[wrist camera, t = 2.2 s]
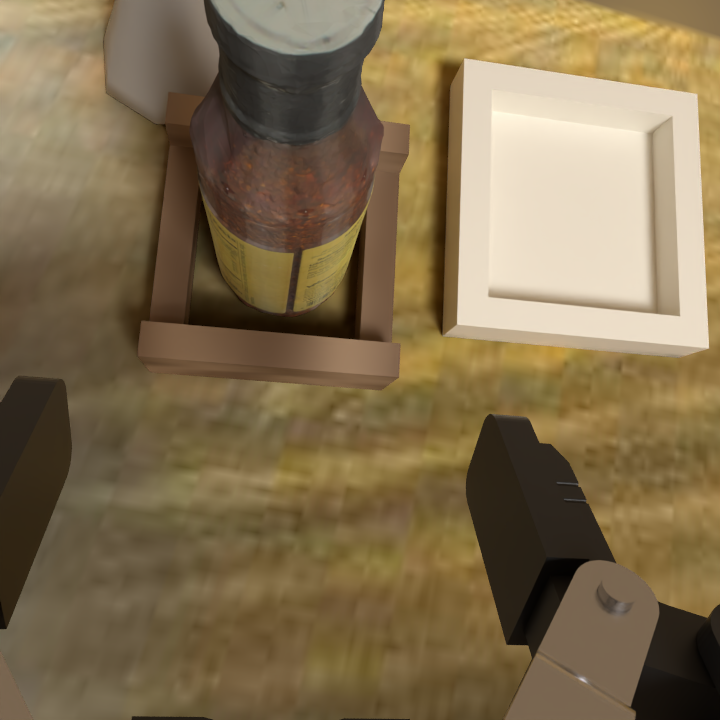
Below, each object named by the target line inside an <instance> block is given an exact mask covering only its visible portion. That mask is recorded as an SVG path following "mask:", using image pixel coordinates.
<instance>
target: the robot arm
mask: <svg viewBox="0 0 720 720" xmlns="http://www.w3.org/2000/svg"><path fill="white" fill-rule="evenodd" d="M71 452H72V442H71V432H70V422H69V412H68V402H67V393H66V386H65V383H64V381H63V380H62V379H53V378H40V377H27V376H18V377H17V378H16V379H15V380H14V381H13V383H12V385H11V387H10V388H9V390H8V392H7V393H6V395H5V397H4V399H3V400H2V402H1V403H0V629H7V627H8V624H9V622H10V619H11V616H12V614H13V611H14V609H15V606H16V604H17V601H18V599H19V596H20V594H21V591H22V589H23V586H24V584H25V581H26V579H27V576H28V574H29V571H30V569H31V566H32V563H33V561H34V558H35V556H36V553H37V551H38V548H39V546H40V543H41V541H42V538H43V536H44V533H45V531H46V528H47V526H48V523H49V521H50V518H51V515H52V513H53V510H54V508H55V505H56V503H57V500H58V498H59V495H60V493H61V490H62V488H63V485H64V483H65V480H66V478H67V475H68V471H69V467H70V461H71ZM466 497H467V502H468V506H469V510H470V513H471V517H472V520H473V524H474V528H475V531H476V535H477V539H478V542H479V546H480V550H481V553H482V557H483V560H484V564H485V568H486V571H487V575H488V579H489V582H490V586H491V590H492V593H493V597H494V600H495V604H496V608H497V611H498V615H499V619H500V622H501V626H502V630H503V633H504V637H505V640H506V644H507V645H528V646H529V649H530V652H531V656H532V660H531V662H530V664H529V666H528V668H527V670H526V672H525V674H524V676H523V678H522V680H521V682H520V685H519V687H518V689H517V691H516V693H515V695H514V697H513V699H512V701H511V703H510V705H509V707H508V709H507V711H506V713H505V715H504V717H503V719H502V720H720V605H718V606H717V607H715V608H714V610H713V611H712V612H711V614H710V615H709V617H708V618H706V617H703V616H699V615H696V614H693V613H690V612H687V611H684V610H681V609H678V608H675V607H671V606H668V605H666V604H663V603H660V602H658V601H657V599H656V597H655V595H654V593H653V591H652V590H651V588H650V587H649V586H648V585H647V584H646V582H645V581H644V580H642V579H641V578H640V577H639V576H638V575H637V574H635V573H634V572H632V571H631V570H629V569H627V568H626V567H623V566H621V565H619V564H616V561H615V559H614V557H613V555H612V553H611V551H610V549H609V547H608V544H607V542H606V540H605V538H604V536H603V534H602V532H601V530H600V528H599V525H598V523H597V521H596V519H595V517H594V515H593V513H592V511H591V508H590V506H589V504H586V498H585V496H584V494H583V491H582V489H581V487H578V481H577V479H576V477H575V474H574V472H573V470H572V468H571V466H570V464H569V462H568V461H567V460H566V459H565V458H564V457H563V456H562V455H561V454H560V453H559V452H558V451H557V450H556V449H555V448H554V447H553V446H552V445H551V444H543V443H539V441H538V439H537V436H536V434H535V432H534V430H533V427H532V425H531V423H530V421H529V419H528V418H527V417H521V416H508V415H495V414H489V415H488V416H487V417H486V419H485V421H484V423H483V426H482V429H481V432H480V435H479V438H478V441H477V444H476V447H475V450H474V454H473V457H472V460H471V463H470V466H469V469H468V473H467V479H466ZM0 720H33V718H32V715H31V713H30V711H29V709H28V707H27V705H26V703H25V701H24V699H23V697H22V695H21V693H20V691H19V688H18V686H17V684H16V682H15V680H14V678H13V676H12V674H11V672H10V670H9V668H8V666H7V664H6V662H5V659H4V657H3V655H2V653H1V651H0ZM132 720H212V719H208V718H205V717H135V716H132ZM341 720H410V719H341Z"/></svg>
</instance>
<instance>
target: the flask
mask: <svg viewBox="0 0 720 720" xmlns="http://www.w3.org/2000/svg"><path fill="white" fill-rule="evenodd" d="M104 61H105V80H106V93H107V94H109V95H110V96H112V97H113V98H115V99H117V100H118V101H120V102H121V103H123V104H125V105H126V106H128V107H129V108H131V109H133V110H134V111H136V112H137V113H139V114H141V115H142V116H144V117H145V118H147V119H148V120H150V121H152V122H153V123H155V124H165V117H166V109H167V101H168V92H174V93H181V94H188V95H195V96H203V97H205V96H206V95H207V93H208V91H209V89H210V87H211V85H212V84H213V82H214V80H215V78H216V76H217V74H218V72H219V70H218V63H219V48H218V44H217V42H216V41H215V39H214V38H213V35H212V32H211V29H210V27H209V25H208V23H207V18H206V13H205V8H204V0H115V2H114V6H113V9H112V12H111V15H110V19H109V22H108V25H107V29H106V32H105V37H104Z"/></svg>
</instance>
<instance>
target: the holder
mask: <svg viewBox="0 0 720 720" xmlns="http://www.w3.org/2000/svg"><path fill="white" fill-rule="evenodd" d="M204 98H205V97H203V96H195V95H188V94H181V93H174V92H168V101H167V109H166V117H165V125H166V130H167V134H168V139H169V143H170V148H169V156H168V165H167V173H166V182H165V190H164V199H163V207H162V216H161V225H160V233H159V242H158V250H157V259H156V267H155V276H154V284H153V293H152V301H151V310H150V319H149V321H141V327H140V335H139V344H138V352H137V357H138V358H139V359H140V360H141V361H142V363H143V364H144V365H145V366H146V368H147V369H148V370H149V371H150V372H154V373H167V374H180V375H193V376H206V377H218V378H231V379H244V380H257V381H270V382H282V383H295V384H308V385H321V386H334V387H346V388H359V389H372V390H382V389H384V388H385V387H386V386H388V385H389V384H390V383H392V382H393V381H395V380H396V379H397V378H399V364H400V344H399V343H392V321H393V299H394V278H395V256H396V234H397V212H398V190H399V173H400V171H401V169H402V167H403V165H404V163H405V161H406V159H407V157H408V155H409V133H410V125H407V124H400V123H392V122H385V121H381V123H382V124H383V126H384V136H383V139H382V144H381V150H380V155H379V162H378V166H377V168H376V171H375V179H374V187H373V191H372V195H371V198H370V201H369V203H368V206H367V209H366V212H365V215H364V218H363V221H362V224H361V227H360V242H359V259H358V277H357V294H356V312H355V329H354V339H343V338H332V337H320V336H309V335H298V334H286V333H275V332H264V331H253V330H241V329H230V328H219V327H208V326H196V325H189V315H190V306H191V296H192V287H193V277H194V268H195V258H196V249H197V239H198V230H199V220H200V211H201V201H202V194H201V190H200V186H199V182H198V176H197V163H196V159H195V153H194V149H193V145H192V141H191V137H190V133H189V130H190V122H191V118H192V115H193V113H194V111H195V109H196V107H197V106H198V105H199V104H200V103H201V102H202V100H203V99H204Z"/></svg>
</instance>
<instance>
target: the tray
mask: <svg viewBox="0 0 720 720" xmlns="http://www.w3.org/2000/svg"><path fill="white" fill-rule="evenodd" d="M442 336H446V337H457V338H468V339H479V340H490V341H501V342H512V343H523V344H534V345H545V346H556V347H567V348H578V349H589V350H600V351H611V352H622V353H633V354H644V355H655V356H666V357H677V358H679V357H682V356H685V355H689V354H692V353H695V352H698V351H702V350H705V349H708V348H709V341H708V319H707V297H706V276H705V254H704V232H703V210H702V189H701V167H700V145H699V124H698V102H697V94H693V93H686V92H680V91H673V90H667V89H660V88H654V87H647V86H641V85H634V84H628V83H621V82H615V81H608V80H602V79H595V78H589V77H582V76H576V75H569V74H563V73H556V72H550V71H543V70H537V69H530V68H524V67H517V66H511V65H504V64H498V63H491V62H484V61H478V60H471V59H465V58H464V60H463V62H462V64H461V66H460V68H459V70H458V72H457V74H456V76H455V78H454V80H453V82H452V84H451V86H450V109H449V141H448V173H447V205H446V237H445V269H444V301H443V333H442Z"/></svg>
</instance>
